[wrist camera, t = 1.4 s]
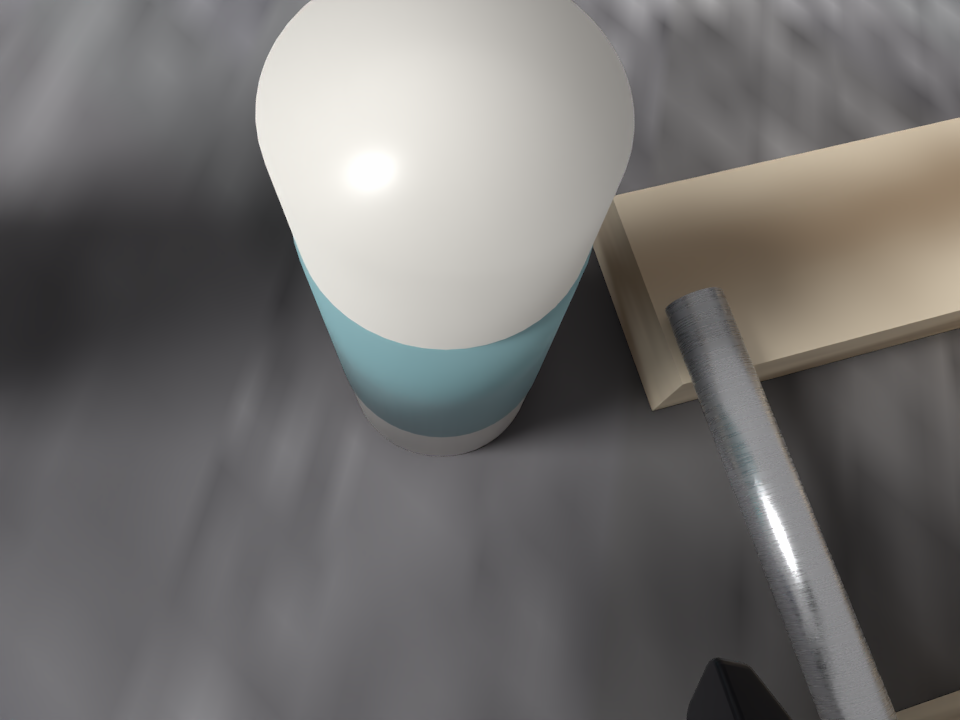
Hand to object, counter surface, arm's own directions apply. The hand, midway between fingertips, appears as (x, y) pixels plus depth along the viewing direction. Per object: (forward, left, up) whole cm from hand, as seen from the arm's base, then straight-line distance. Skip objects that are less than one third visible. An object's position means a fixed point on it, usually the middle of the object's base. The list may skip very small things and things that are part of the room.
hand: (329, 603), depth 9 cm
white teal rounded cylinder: (+6, -3, -13) cm, 15 cm away
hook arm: (-2, -10, -10) cm, 14 cm away
